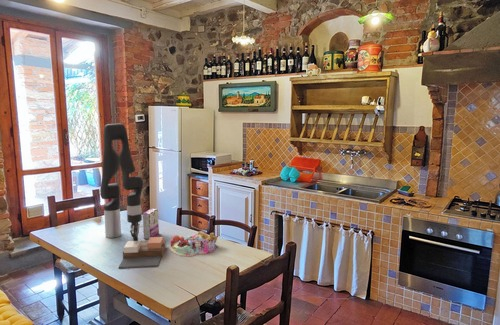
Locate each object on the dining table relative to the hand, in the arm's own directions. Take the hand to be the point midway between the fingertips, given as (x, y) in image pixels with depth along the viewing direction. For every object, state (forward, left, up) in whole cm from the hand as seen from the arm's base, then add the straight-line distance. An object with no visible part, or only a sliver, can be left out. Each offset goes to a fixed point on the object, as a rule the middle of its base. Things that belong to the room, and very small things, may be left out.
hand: (135, 242), depth 186 cm
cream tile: (+6, 0, -1) cm, 6 cm away
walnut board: (+2, +5, -5) cm, 8 cm away
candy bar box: (-25, +4, -5) cm, 26 cm away
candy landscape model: (-2, +32, -6) cm, 33 cm away
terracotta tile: (+1, +11, -1) cm, 11 cm away
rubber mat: (+15, +5, -5) cm, 17 cm away
